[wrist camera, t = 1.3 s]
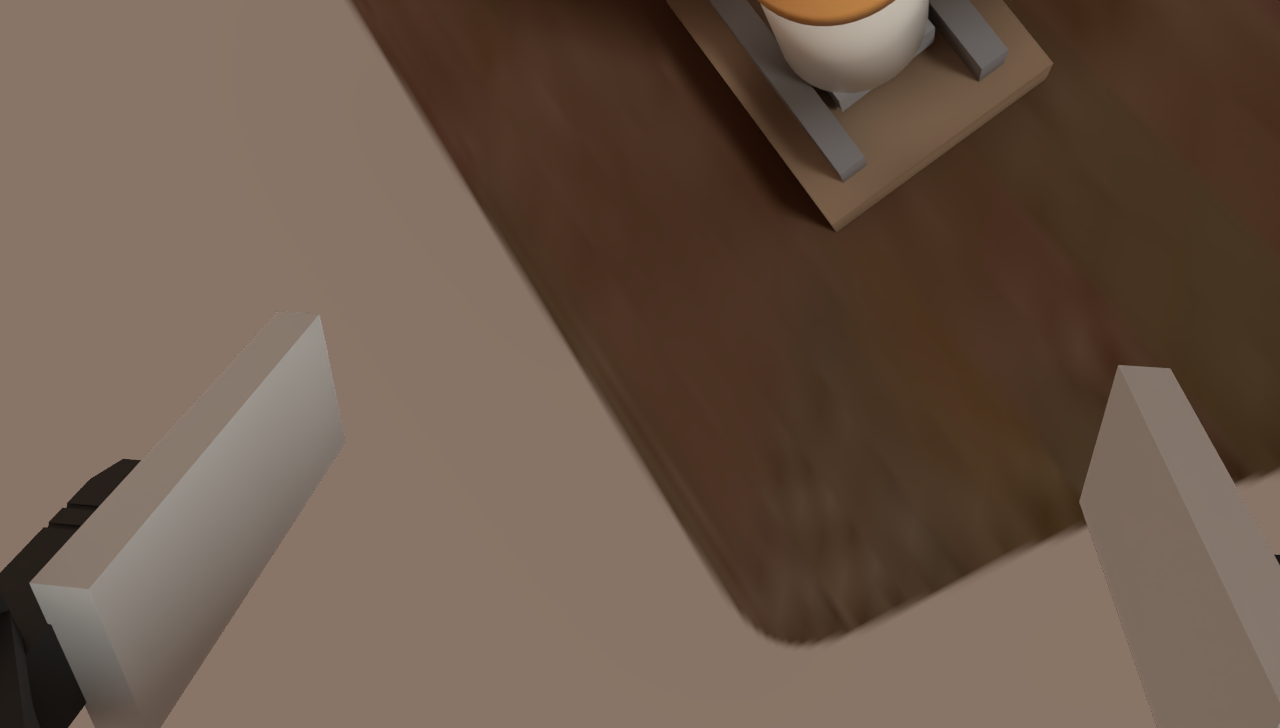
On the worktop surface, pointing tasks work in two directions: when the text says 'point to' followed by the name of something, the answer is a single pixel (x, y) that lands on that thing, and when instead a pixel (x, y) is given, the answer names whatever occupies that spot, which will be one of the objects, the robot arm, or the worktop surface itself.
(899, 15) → the knob
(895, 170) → the knob mount
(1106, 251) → the worktop surface
